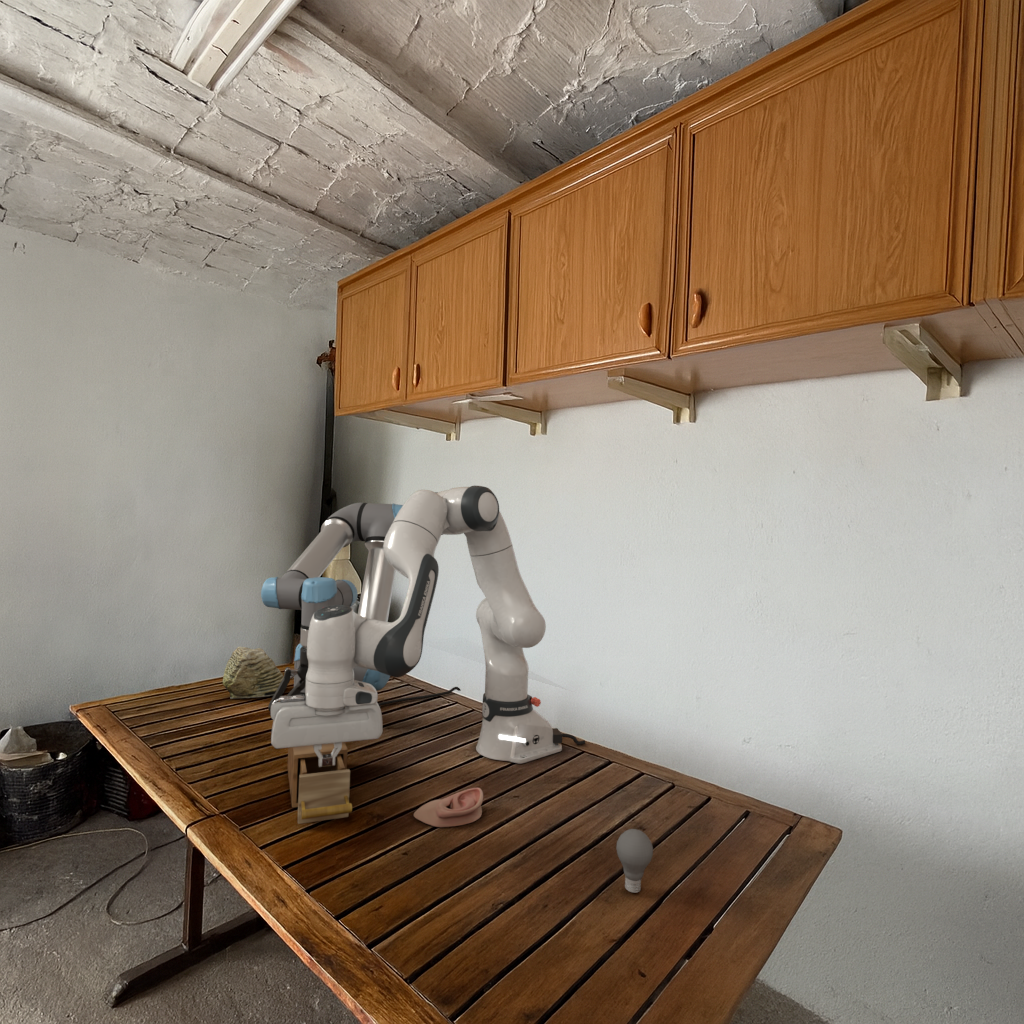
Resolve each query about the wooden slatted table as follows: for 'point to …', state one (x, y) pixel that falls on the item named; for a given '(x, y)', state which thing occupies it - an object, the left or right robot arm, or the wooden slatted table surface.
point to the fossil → (251, 674)
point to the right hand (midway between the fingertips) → (326, 765)
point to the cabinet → (304, 753)
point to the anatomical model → (452, 809)
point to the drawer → (322, 790)
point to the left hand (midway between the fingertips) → (314, 737)
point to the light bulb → (634, 857)
